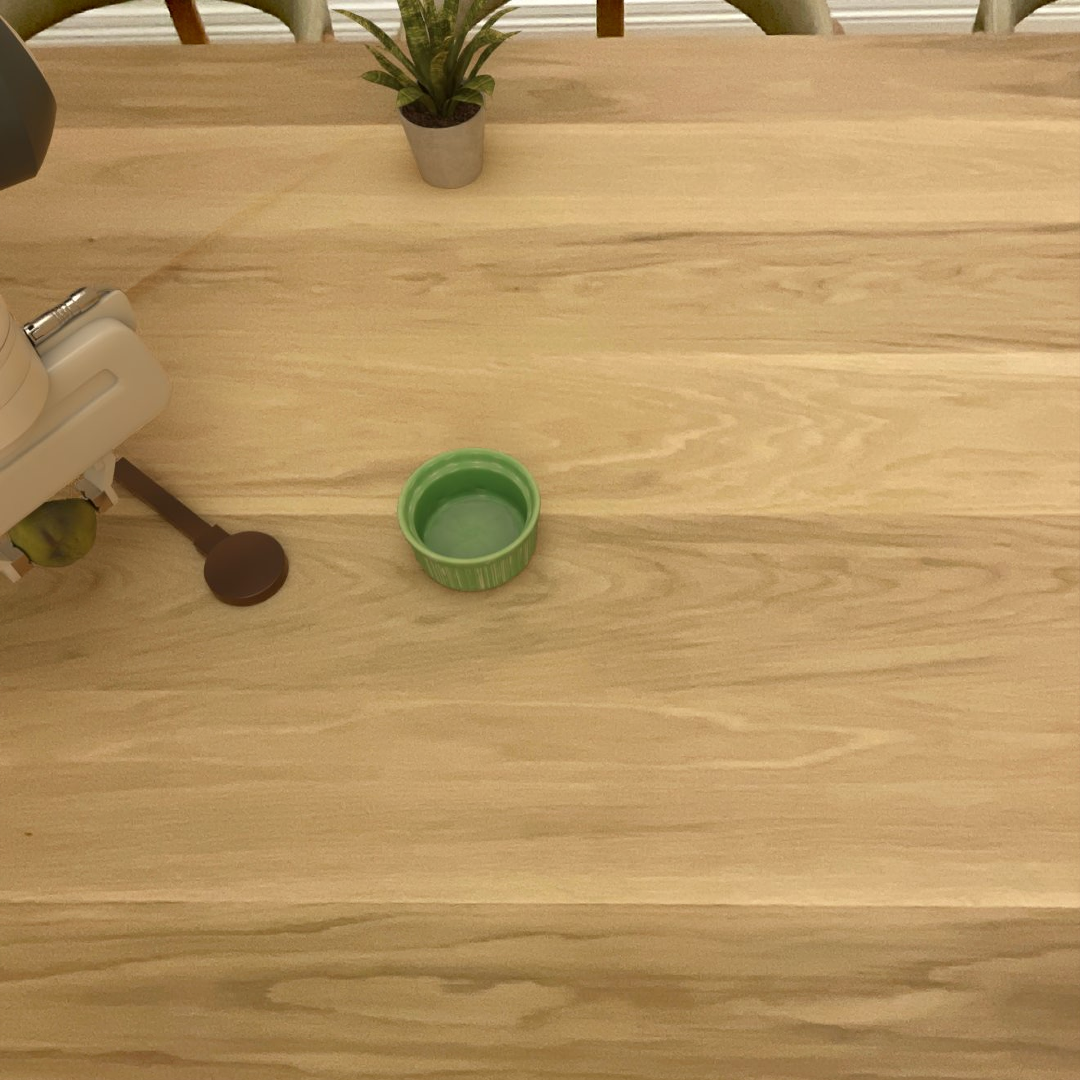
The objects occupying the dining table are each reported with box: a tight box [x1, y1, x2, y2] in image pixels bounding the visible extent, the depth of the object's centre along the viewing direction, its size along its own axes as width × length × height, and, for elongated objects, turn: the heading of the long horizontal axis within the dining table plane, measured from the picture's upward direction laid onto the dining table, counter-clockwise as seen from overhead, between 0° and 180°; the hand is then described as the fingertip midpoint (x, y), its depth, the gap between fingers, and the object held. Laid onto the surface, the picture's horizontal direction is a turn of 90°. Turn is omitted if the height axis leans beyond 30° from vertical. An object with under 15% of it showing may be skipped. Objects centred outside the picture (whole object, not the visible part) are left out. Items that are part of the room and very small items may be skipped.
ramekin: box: [396, 446, 542, 592], centre depth 74 cm, size 9×9×4 cm
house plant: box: [331, 0, 522, 189], centre depth 89 cm, size 14×14×16 cm
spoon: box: [113, 456, 289, 607], centre depth 77 cm, size 16×5×1 cm, turn 50°
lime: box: [7, 497, 98, 569], centre depth 70 cm, size 4×5×5 cm
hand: (61, 536), depth 71 cm, fingers closed on lime, 5 cm apart
